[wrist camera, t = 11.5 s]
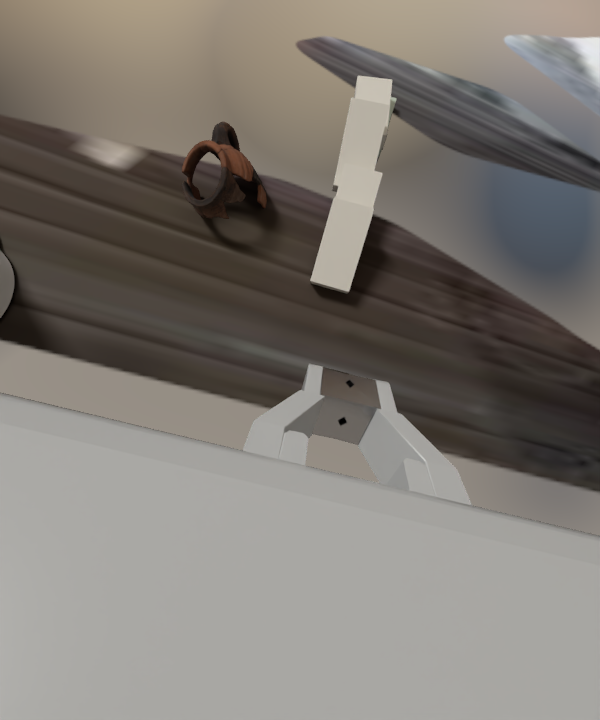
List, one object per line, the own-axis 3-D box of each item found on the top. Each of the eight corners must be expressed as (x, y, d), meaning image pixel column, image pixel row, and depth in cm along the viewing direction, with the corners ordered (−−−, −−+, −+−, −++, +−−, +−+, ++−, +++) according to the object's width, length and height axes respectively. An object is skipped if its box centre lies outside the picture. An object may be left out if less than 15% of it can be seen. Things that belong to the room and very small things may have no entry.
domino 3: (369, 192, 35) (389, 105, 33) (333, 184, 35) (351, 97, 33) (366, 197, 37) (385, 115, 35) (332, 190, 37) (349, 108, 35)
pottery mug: (273, 228, 36) (236, 200, 29) (221, 243, 40) (176, 221, 33) (267, 138, 35) (228, 85, 28) (214, 162, 39) (167, 121, 32)
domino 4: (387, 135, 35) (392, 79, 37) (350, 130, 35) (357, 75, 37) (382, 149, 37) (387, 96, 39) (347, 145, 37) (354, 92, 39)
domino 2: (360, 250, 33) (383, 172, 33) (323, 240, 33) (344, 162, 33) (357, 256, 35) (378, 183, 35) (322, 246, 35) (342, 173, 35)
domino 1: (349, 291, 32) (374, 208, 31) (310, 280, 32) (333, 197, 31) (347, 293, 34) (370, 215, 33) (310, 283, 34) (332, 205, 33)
